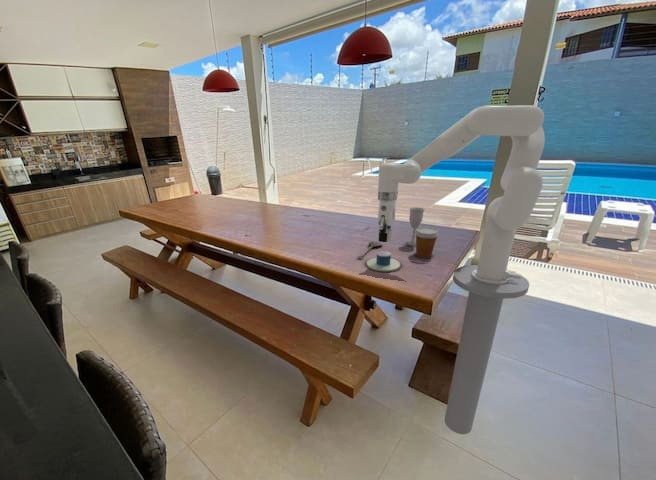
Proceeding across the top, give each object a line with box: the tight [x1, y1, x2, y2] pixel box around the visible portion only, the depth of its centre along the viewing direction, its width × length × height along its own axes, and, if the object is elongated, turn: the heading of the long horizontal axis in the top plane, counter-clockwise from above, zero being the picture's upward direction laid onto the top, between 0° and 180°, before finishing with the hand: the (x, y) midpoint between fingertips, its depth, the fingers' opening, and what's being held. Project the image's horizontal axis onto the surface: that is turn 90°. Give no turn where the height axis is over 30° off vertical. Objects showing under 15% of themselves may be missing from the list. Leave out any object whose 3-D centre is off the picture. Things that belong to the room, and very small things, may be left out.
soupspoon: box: [357, 240, 383, 260], centre depth 147 cm, size 22×3×7 cm
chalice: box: [407, 207, 425, 246], centre depth 149 cm, size 7×7×18 cm
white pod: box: [377, 228, 392, 243], centre depth 127 cm, size 5×5×4 cm
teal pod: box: [376, 250, 392, 266], centre depth 131 cm, size 6×6×4 cm
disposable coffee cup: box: [415, 226, 439, 259], centre depth 137 cm, size 10×10×12 cm
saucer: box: [366, 257, 401, 272], centre depth 132 cm, size 14×14×1 cm
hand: (384, 239), depth 128 cm, fingers closed on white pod, 5 cm apart
